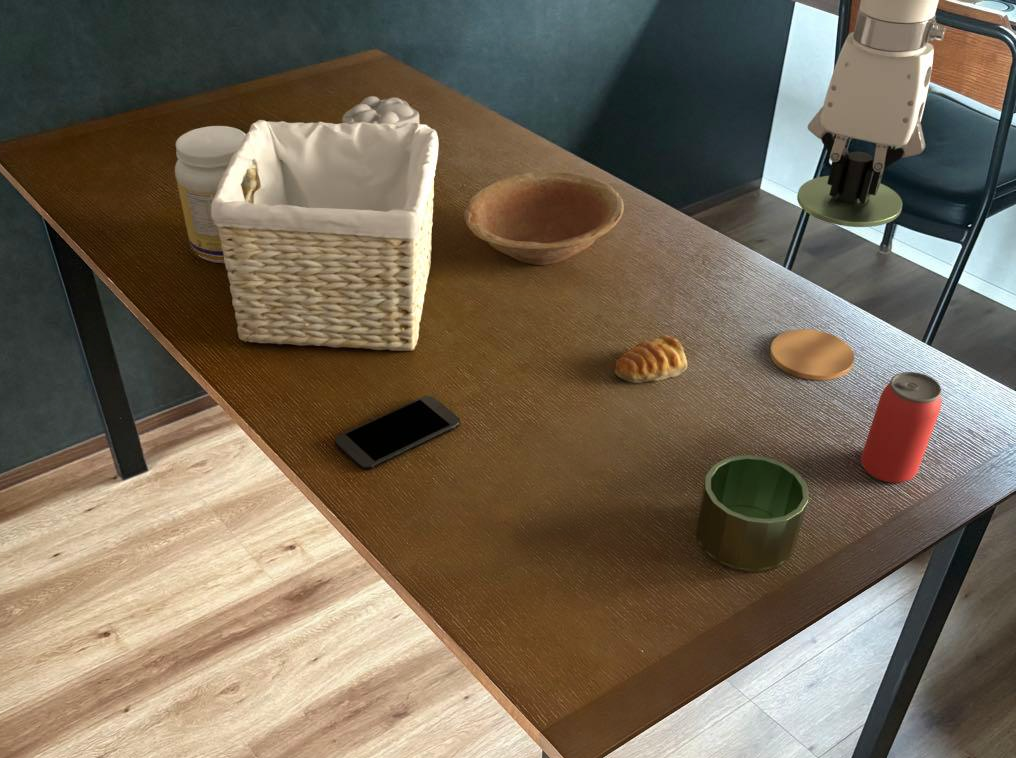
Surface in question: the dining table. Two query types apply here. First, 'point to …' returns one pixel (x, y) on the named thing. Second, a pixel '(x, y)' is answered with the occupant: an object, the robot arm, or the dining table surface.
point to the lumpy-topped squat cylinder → (382, 112)
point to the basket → (329, 232)
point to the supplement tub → (204, 181)
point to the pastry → (652, 361)
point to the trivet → (812, 354)
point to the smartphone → (396, 432)
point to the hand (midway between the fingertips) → (850, 193)
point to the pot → (751, 513)
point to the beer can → (902, 427)
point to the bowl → (543, 215)
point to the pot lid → (850, 197)
